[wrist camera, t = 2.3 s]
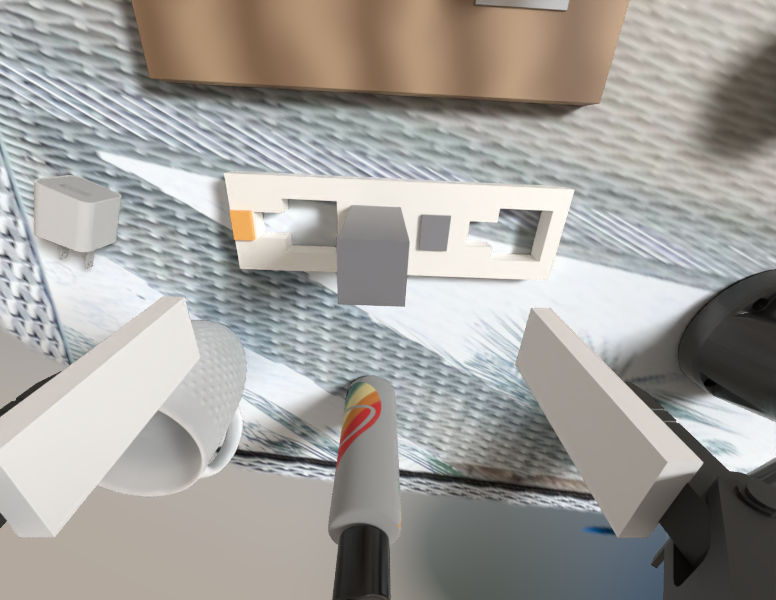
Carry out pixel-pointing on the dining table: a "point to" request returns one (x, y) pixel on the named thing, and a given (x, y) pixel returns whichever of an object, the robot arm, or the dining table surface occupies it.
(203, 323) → the mug
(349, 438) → the lotion bottle
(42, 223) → the usb wall charger
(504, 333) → the dining table surface
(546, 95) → the pin board
